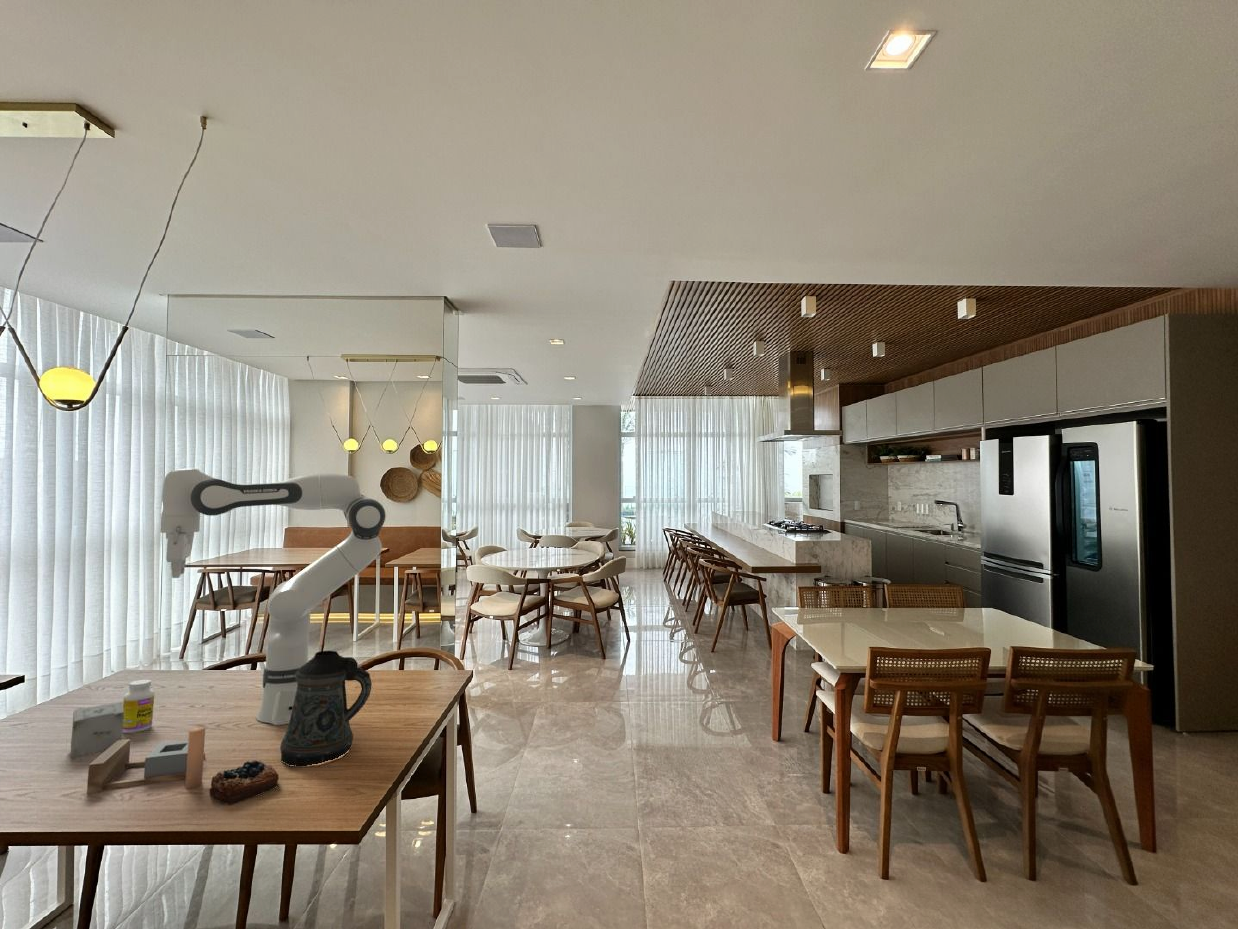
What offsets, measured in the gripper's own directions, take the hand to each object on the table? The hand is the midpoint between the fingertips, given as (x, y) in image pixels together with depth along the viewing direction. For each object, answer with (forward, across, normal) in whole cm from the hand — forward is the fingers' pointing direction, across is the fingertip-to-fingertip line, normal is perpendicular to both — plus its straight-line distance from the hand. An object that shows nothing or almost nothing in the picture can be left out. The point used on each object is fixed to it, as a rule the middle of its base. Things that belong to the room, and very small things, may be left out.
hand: (178, 575), depth 163 cm
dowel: (+43, -40, -8) cm, 59 cm away
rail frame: (+42, -28, +1) cm, 51 cm away
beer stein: (+43, -35, -35) cm, 66 cm away
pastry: (+43, -48, -18) cm, 67 cm away
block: (+42, -29, -3) cm, 52 cm away
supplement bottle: (+42, +7, +8) cm, 44 cm away
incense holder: (+42, -5, +15) cm, 45 cm away
